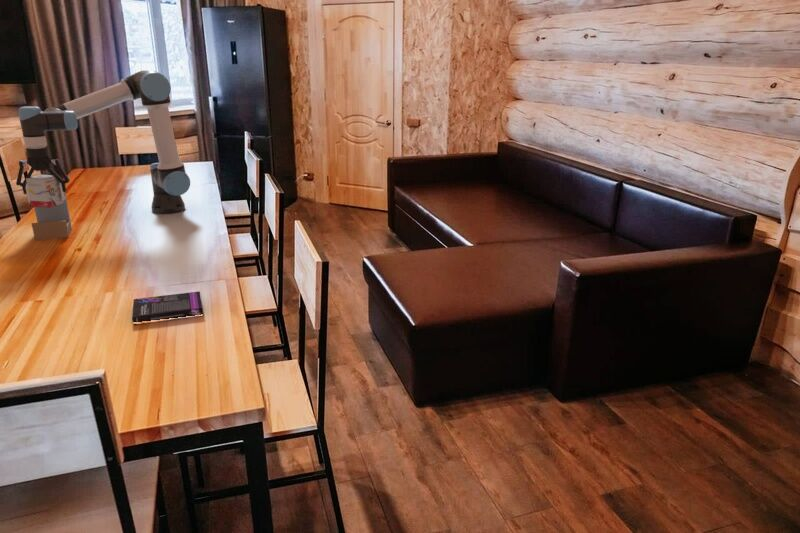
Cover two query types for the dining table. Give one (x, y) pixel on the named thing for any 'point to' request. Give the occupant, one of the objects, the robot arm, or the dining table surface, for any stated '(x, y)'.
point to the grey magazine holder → (52, 222)
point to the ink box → (44, 191)
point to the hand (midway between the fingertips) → (47, 200)
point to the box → (167, 307)
